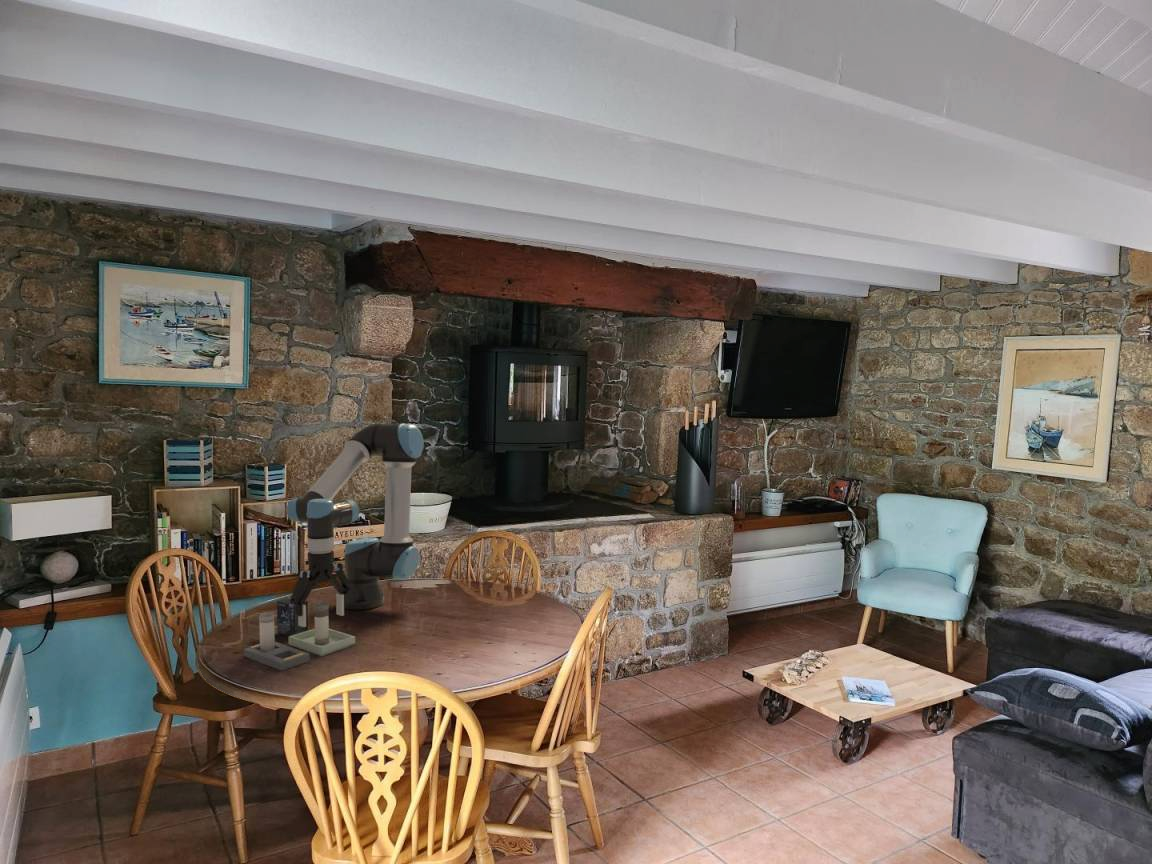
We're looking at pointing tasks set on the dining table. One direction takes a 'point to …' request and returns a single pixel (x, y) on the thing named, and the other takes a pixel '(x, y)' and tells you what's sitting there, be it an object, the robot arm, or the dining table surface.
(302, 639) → the parts tray
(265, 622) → the fuse
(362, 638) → the dining table surface
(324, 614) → the cylinder
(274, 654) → the fuse holder
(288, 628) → the box
